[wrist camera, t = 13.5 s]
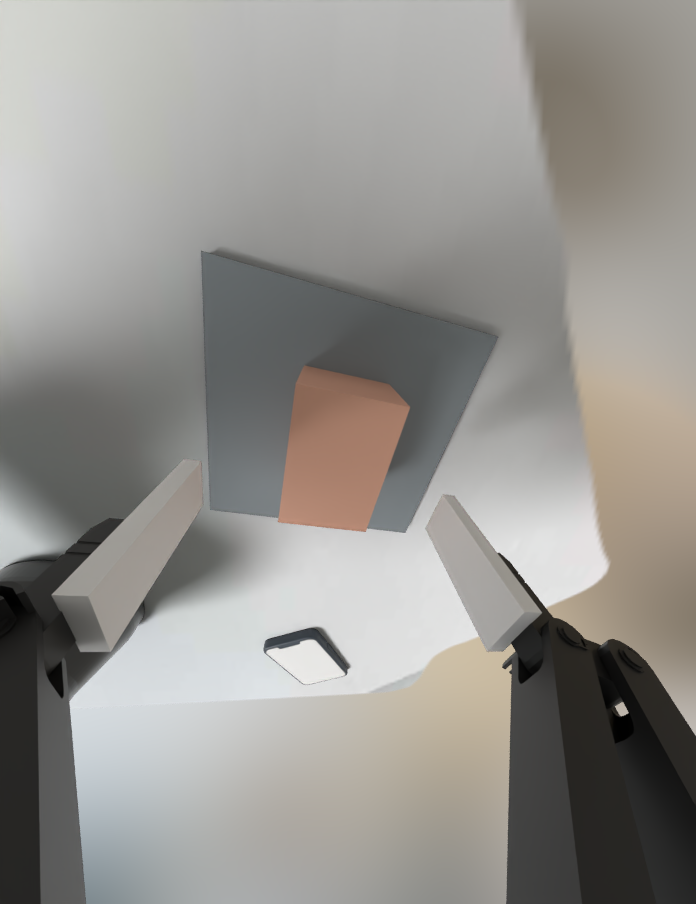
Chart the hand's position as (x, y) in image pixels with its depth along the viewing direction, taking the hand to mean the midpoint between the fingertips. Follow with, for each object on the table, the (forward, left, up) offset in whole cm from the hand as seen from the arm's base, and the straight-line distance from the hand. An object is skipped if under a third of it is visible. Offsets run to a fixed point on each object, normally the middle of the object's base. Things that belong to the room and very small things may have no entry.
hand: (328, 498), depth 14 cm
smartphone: (+5, -40, -10) cm, 42 cm away
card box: (0, 0, -8) cm, 8 cm away
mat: (0, 0, -9) cm, 9 cm away
